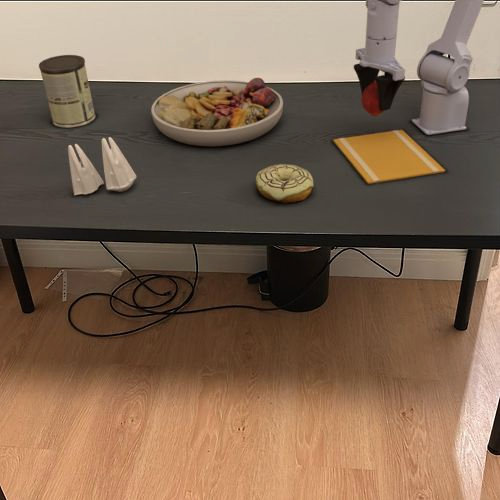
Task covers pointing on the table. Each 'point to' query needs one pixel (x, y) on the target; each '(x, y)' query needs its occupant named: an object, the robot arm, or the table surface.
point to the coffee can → (67, 90)
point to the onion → (371, 99)
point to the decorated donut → (284, 183)
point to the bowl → (218, 112)
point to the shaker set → (88, 178)
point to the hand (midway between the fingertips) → (376, 104)
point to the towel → (387, 156)
